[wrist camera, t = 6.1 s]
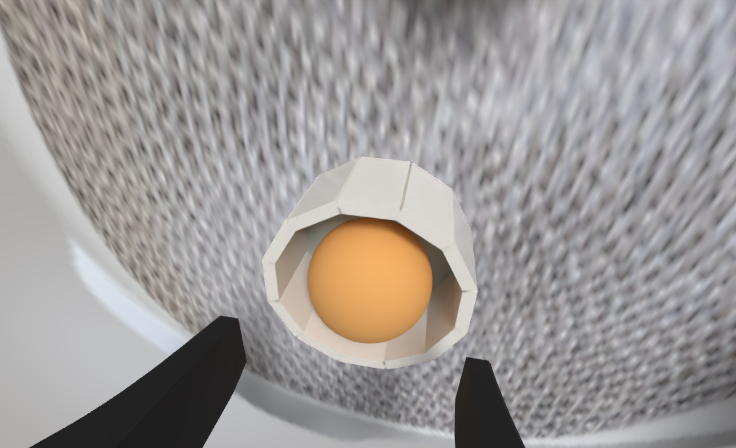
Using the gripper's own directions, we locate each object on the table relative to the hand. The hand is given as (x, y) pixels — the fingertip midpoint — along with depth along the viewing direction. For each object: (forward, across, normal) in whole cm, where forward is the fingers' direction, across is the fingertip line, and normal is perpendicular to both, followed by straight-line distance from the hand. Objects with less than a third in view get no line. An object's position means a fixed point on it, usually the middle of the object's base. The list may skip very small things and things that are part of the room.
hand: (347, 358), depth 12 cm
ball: (+4, 0, 0) cm, 4 cm away
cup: (+7, 0, 0) cm, 7 cm away
